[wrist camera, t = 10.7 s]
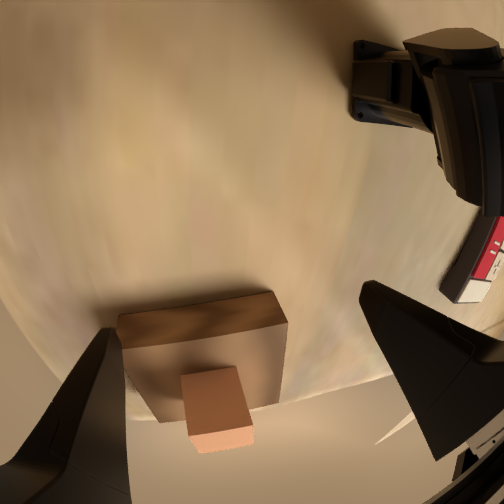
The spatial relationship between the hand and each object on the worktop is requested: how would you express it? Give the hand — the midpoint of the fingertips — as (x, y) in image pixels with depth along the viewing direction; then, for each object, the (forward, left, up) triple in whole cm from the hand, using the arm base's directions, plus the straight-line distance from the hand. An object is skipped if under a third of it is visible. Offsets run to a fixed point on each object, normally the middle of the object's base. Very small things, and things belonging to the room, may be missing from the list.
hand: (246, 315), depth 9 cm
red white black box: (-38, +11, -13) cm, 41 cm away
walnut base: (+2, +17, -12) cm, 21 cm away
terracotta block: (+2, +17, -8) cm, 19 cm away
